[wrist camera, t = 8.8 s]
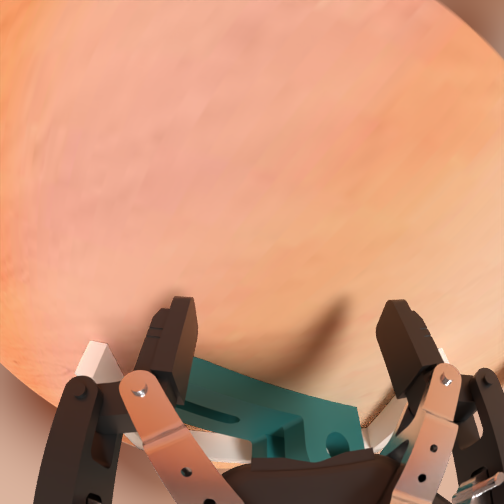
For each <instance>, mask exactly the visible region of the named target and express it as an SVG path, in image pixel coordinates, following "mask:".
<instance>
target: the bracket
mask: <svg viewBox="0 0 504 504" xmlns="http://www.w3.org/2000/svg"><path fill="white" fill-rule="evenodd" d="M175 411H176V413H177V414H178V416H179V418H180V419H181V421H182V422H183V423H185V424H189V425H192V426H195V427H198V428H202V429H205V430H209V431H212V432H216V433H220V434H223V435H227V436H231V437H236V438H240V439H244V440H249V441H250V442H251V443H252V458H288V459H294V460H300V461H307V462H320V461H323V460H325V459H328V458H331V457H334V456H336V455H339V454H342V453H344V452H349V451H355V450H361V449H365V447H364V441H363V436H362V431H361V426H360V421H359V416H358V411H357V407H353V406H349V405H344V404H340V403H336V402H332V401H328V400H324V399H320V398H316V397H312V396H308V395H305V394H301V393H298V392H294V391H291V390H288V389H284V388H281V387H278V386H275V385H272V384H268V383H265V382H262V381H259V380H256V379H254V378H251V377H248V376H245V375H242V374H239V373H237V372H234V371H231V370H229V369H226V368H223V367H221V366H218V365H216V364H213V363H211V362H208V361H206V360H203V359H200V358H196V357H193V362H192V367H191V372H190V377H189V382H188V387H187V393H186V398H185V404H184V405H178V404H176V408H175ZM327 450H328V451H327ZM328 452H329V453H328Z"/></svg>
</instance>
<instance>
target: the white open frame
mask: <svg viewBox="0 0 504 504" xmlns="http://www.w3.org/2000/svg"><path fill="white" fill-rule="evenodd" d="M438 350H439V353H440V355H441V357H442V359H443V361H444V363H448V364H450V363H449V361H448V359H447V357H446V355H445V353H444V351H443V349H442V348H439V349H438ZM75 374H76V375H77V376H82V375H83V376H88V377H90V378H92V379H93V380H94V381H95V382H96V384H100V383H111V382H118V381H121V380H122V379H123V377H124V375H123V373H122V372H121V370H120V368H119V366H118V364H117V362H116V360H115V358H114V356H113V354H112V352H111V350H110V348H109V346H108V344H106V343H101V342H96V341H91V340H90V342H89V344H88V346H87V348H86V350H85V352H84V354H83V356H82V358H81V360H80V362H79V365H78V367H77V369H76V371H75ZM407 402H408V401H407V398H402V399H397V398H396V395H395V396H394V397H393V398H392V400H391V401H390V402H389V403H388V404H387V405H386V407H385V408H384V409H383V410H382V411H381V412H380V414H379V415H378V416H377V417H376V418H375V419H374V420H373V421H372V423H371V424H370V425H369V426H368V427H367V428H361V431H362V436H363V441H364V447H365V449H366V448H372V447H373V452H374V453H376V452H379V451H380V450H382V449H383V448H384V447H385V446H386V445H387V443H388V442H389V440H390V438H391V436H392V434H393V432H394V430H395V428H396V426H397V423H398V421H399V419H400V416H401V414H402V411H403V409H404V407H405V405H406V403H407ZM189 431H190V433H191V434H192V436H193V437H194V439H195V440H196V441H197V443H198V444H199V446H200V447H201V449H202V450H203V451H204V453H205V454H206V456H207V457H208V458H209V460H210V461H216V462H228V463H251V458H252V443H251V442H250V441H249V440H244V439H240V438H236V437H231V436H227V435H223V434H220V433H211V432H202V431H193V430H189ZM124 434H125V435H126V437H127V438H128V439H129V440H130V441H131V442H132V443H133V444H134V445H135V446H136V447H137V448H138V449H141V450H144V448H143V445H142V444H143V442H142V440H141V438H140V436H139V434H138V432H131V433H124ZM327 451H328V450H327ZM328 453H329V452H328Z"/></svg>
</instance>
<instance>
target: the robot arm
mask: <svg viewBox="0 0 504 504" xmlns="http://www.w3.org/2000/svg"><path fill="white" fill-rule="evenodd" d="M430 335H431V334H430V332H429V331H428V329H427V327H426V325H425V323H424V321H423V319H422V318H421V317H420V316H419V315H418V314H417V313H416V312H415V311H411V309H410V307H409V305H408V303H407V302H406V301H405V300H388V301H387V302H386V304H385V307H384V309H383V312H382V314H381V317H380V319H379V321H378V324H377V327H376V338H377V341H378V344H379V347H380V349H381V352H382V355H383V358H384V361H385V364H386V367H387V370H388V373H389V376H390V379H391V382H392V385H393V388H394V391H395V395H396V398H397V399H402V398H407V401H408V402H407V403H406V405H405V407H404V409H403V411H402V414H401V416H400V419H399V421H398V423H397V426H396V428H395V430H394V432H393V434H392V436H391V438H390V440H389V442H388V443H387V445H386V446H385V447H384V448H383V450H382V451H381V453H380V454H374V452H373V447H372V448H366V449H361V450H355V451H349V452H344V453H342V454H339V455H336V456H334V457H331V458H328V459H325V460H323V461H320V462H307V461H300V460H294V459H288V458H251V463H249V464H244V465H241V466H237V467H235V468H232V469H230V470H228V471H226V472H225V473H223V474H222V475H221V474H220V473H219V472H218V470H217V469H216V468H215V466H214V465H213V464H212V462H211V461H210V460H209V458H208V457H207V456H206V454H205V453H204V451H203V450H202V449H201V447H200V446H199V444H198V443H197V441H196V440H195V439H194V437H193V436H192V434H191V433H190V431H189V430H188V428H187V427H186V426H185V425H184V424H183V422H182V421H181V419H180V418H179V416H178V414H177V413H176V411H175V408H176V404H178V405H184V404H185V398H186V393H187V387H188V382H189V377H190V372H191V367H192V362H193V357H194V352H195V347H196V342H197V336H198V323H197V316H196V310H195V303H194V298H193V297H178V296H175V297H174V298H173V301H172V304H171V307H170V309H165V308H161V309H160V310H159V311H158V312H157V314H156V315H155V316H154V317H153V319H152V322H151V324H150V328H149V330H148V332H147V335H146V338H145V340H144V343H143V346H142V349H141V351H140V354H139V357H138V360H137V363H136V366H135V368H134V370H133V371H132V372H130V373H128V374H127V375H125V376H124V377H123V379H122V380H121V381H118V382H111V383H100V384H96V382H95V381H94V380H93V379H92V378H90V377H88V376H83V375H82V376H76V377H74V378H72V379H71V380H70V381H69V382H68V383H67V384H66V386H65V388H64V391H63V394H62V397H61V399H60V402H59V405H58V408H57V411H56V414H55V417H54V420H53V423H52V427H51V430H50V433H49V437H48V440H47V444H46V447H45V451H44V455H43V459H42V463H41V467H40V472H39V476H38V481H37V485H36V491H35V496H34V502H33V504H112V497H113V489H114V483H115V476H116V470H117V462H118V457H119V452H120V446H121V441H122V436H123V433H131V432H138V434H139V436H140V438H141V440H142V442H143V444H142V445H143V448H144V450H145V452H146V454H147V456H148V458H149V460H150V462H151V463H152V465H153V467H154V468H155V470H156V472H157V473H158V475H159V477H160V478H161V480H162V482H163V483H164V485H165V487H166V488H167V489H168V491H169V493H170V494H171V496H172V497H173V499H174V500H175V502H176V503H177V504H452V503H453V504H504V393H503V390H502V387H501V385H500V383H499V380H498V378H497V376H496V374H495V373H494V372H493V371H492V370H490V369H488V368H481V369H479V370H478V372H477V373H476V374H475V375H474V376H471V375H462V374H460V373H459V371H458V370H457V369H456V368H455V367H454V366H453V365H451V364H448V363H444V361H443V359H442V357H441V355H440V353H439V350H438V348H437V346H436V344H435V342H434V340H433V338H432V337H431V336H430ZM476 411H478V414H479V417H480V420H481V424H482V427H483V435H482V437H481V438H480V437H479V433H478V430H477V426H476V423H475V420H474V416H473V414H474V413H475V412H476ZM451 452H452V453H453V457H454V462H455V467H456V472H457V478H458V484H459V488H458V490H457V493H456V494H454V495H453V497H452V503H450V502H449V501H448V500H446V499H445V498H444V497H442V496H441V495H439V494H438V493H437V490H438V488H439V485H440V483H441V481H442V478H443V475H444V473H445V470H446V467H447V464H448V461H449V458H450V455H451Z"/></svg>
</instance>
